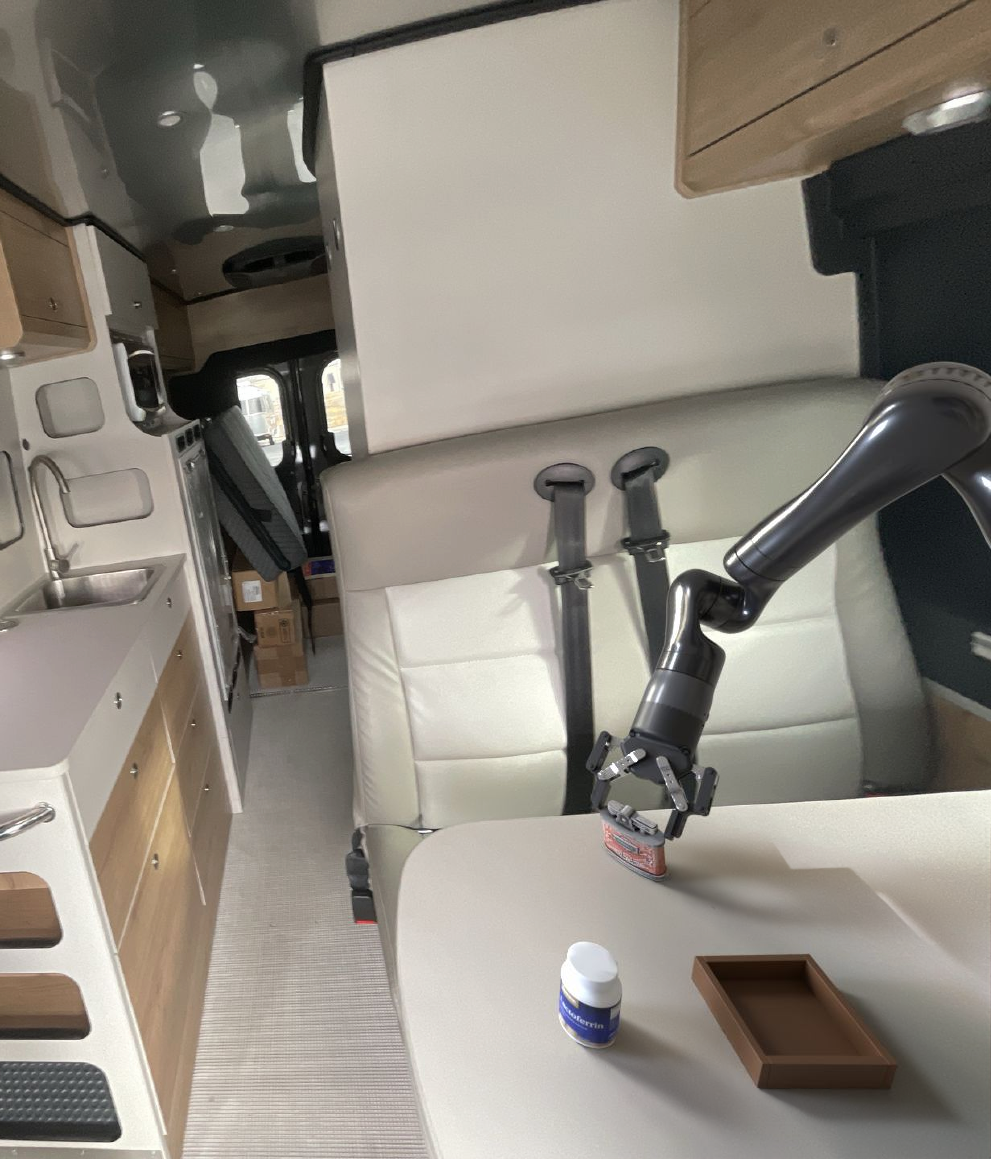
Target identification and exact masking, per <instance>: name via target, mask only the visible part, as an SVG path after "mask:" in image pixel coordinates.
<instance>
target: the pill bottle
mask: <svg viewBox="0 0 991 1159" xmlns="http://www.w3.org/2000/svg"><path fill="white" fill-rule="evenodd" d="M620 979H621V978H620V977H619V965H618V962H617V960H616V958H615V957H614V955H613V954H612V953H611V952H610V951H609V950H608V949H606V948H605V947H604V946H601V945H600V944H597V943H594V942H591V941H579V942H575V943H574V944H572V945H571V946H570V947H569V948H568V952H567V955H566V960H565V962H564V963H563V964H562V966H561V970H560V982H559V983H560V984H559V996H558V997H559V999H558V1002H559V1003H558V1018H559V1023H560V1024H561V1026H562V1028H563V1030H564V1031H565V1033H566V1034H567V1035H568V1036H569V1037H570V1038H571V1039H572V1040H573V1041H575V1042H576V1043H578V1044H580V1045H582V1046H585V1047H587V1048H589V1049H595V1050H597V1049H604V1048H608V1047H610V1046H611V1045H613V1044H614V1042H615V1041H616V1039H617V1037H618V1033H619V1024H620V1017H621V1007H622V998H623V986H622V982H621V980H620Z"/></svg>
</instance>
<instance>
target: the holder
mask: <svg viewBox="0 0 991 1159" xmlns="http://www.w3.org/2000/svg"><path fill="white" fill-rule="evenodd" d="M690 977H691V978H690V979H691V980H692V982H693V983H694V985H695V987H696V988H697V990H698V992H699V994H700V995H701V997H702V998H703V1000H704V1002H705V1004H706V1005H707V1007H708V1008H709V1010H710V1012H711V1013H712V1015H713V1017H714V1019H715V1020H716V1022H717V1023H718V1025H719V1027H720V1029H721V1030H722V1032H723V1034H724V1035H725V1037H726V1038H727V1040H728V1042H729V1043H730V1045H731V1047H732V1048H733V1050H734V1052H735V1053H736V1055H737V1057H738V1059H739V1060H740V1062H741V1063H742V1065H743V1067H744V1068H745V1070H746V1072H747V1073H748V1075H749V1077H750V1078H751V1080H752V1082H753V1083H754V1085H755V1087H756V1089H757V1088H758V1089H841V1090H842V1089H843V1090H844V1089H845V1090H846V1089H849V1090H850V1089H852V1090H853V1089H854V1090H855V1089H857V1090H858V1089H859V1090H863V1089H864V1090H891V1087H892V1085H893V1082H894V1079H895V1076H896V1073H897V1070H898V1068H899V1063H898V1062H897V1061H896V1059H895V1058H894V1057H893V1056H892V1055H891V1053H890V1052H889V1050H887V1049H886V1047H885V1046H884V1045H883V1044H882V1042H881V1041H880V1040H879V1039H878V1037H877V1036H876V1035H875V1033H874V1032H873V1031H872V1030H871V1028H870V1027H869V1025H867V1024H866V1023H865V1021H864V1020H863V1018H862V1017H861V1016H860V1014H858V1012H857V1011H856V1010H855V1009H854V1008H853V1006H852V1005H851V1004H850V1003H849V1001H848V1000H847V998H845V996H844V995H843V994H842V992H841V991H840V990H839V989H838V988H837V986H836V985H835V984H834V983H833V982H832V979H831V978H829V976H828V975H827V974H826V973H825V971H824V970H823V969H822V968H821V966H820V965H819V964H818V962H816V960H815V959H814V958H813V957H812V955H811V954H810V953H786V954H785V953H783V954H779V953H777V954H730V955H729V954H728V955H726V954H724V955H723V954H721V955H694V959H693V965H692V972H691V976H690Z"/></svg>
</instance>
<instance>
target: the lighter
mask: <svg viewBox="0 0 991 1159" xmlns="http://www.w3.org/2000/svg"><path fill="white" fill-rule="evenodd" d="M599 817H600V820H601V822H602V827H603V828H602V829H603V836H604V840H603V847H604V850H605V851H606V852H607V853H608V854H609V855H610V856H611V857H612V858H614V859H615V860H616V861H617V862H619V863H621V864H622V865H624V866H625V867H626V868H628V869H630V870H632V871H633V872H635V873H637V874H639V875H641V876H643V877H646V878H648V879H649V880H652V881H656V882H660V881H664V880H665V879H667V877H668V875H669V874H668V873H669V872H668V866H667V864H666V855H665V853H666V852H665V844H666V838H664V837H663V835H664V832H663V831H662V830H661V829H659V824H658V823H656V821H653V820H651V819H649V818H647V817H645V816H644V815H642V814H640V813H639V812H638V811H637V810H636V809H635V808H634V807H633V806H631V805H628V804H626V805H623V804H621V803H619V802H618V801H615V800H610V801H608V802H607V804H606V805H604V807H602V808H601V810H599Z"/></svg>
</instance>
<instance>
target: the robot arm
mask: <svg viewBox="0 0 991 1159" xmlns="http://www.w3.org/2000/svg"><path fill="white" fill-rule="evenodd" d="M854 435H855V436H853V438H852V439H851V440H850V442H849V443H848V444H847V445H846V447H845V448H844V450H843V451H842V452H841V453H840V455H839V456H838V457H837V458H836V460H834V462H833V463H832V464H831V465H830V466H829V468H827V469H826V470H825V471H824V472H823V473H822V474H821V475H820V476H819V477H818V478H817V479H816V480H814V482H812V483H811V484H810V485H809V486H808V487H806V488H805V489H803V490H802V491H801V492H799V493H798V494H797V495H795V496H793V497H791V499H788V500H787V501H786V502H784V503H783V504H781V505H779V506H777V507H776V508H775V509H773V510H772V511H771V512H769V513H768V514H767V515H766V516H764V517H763V518H762V519H761V520H760V521H759V522H757V523H756V524H755V525H754V526H753V527H751V529H749V531H747V532H746V533H745V534H744V535H743V536H742V537H740V539H739V540H737V541H736V542H735V543H734V544H733V545H732V546H731V547H730V548H729V549H728V550H727V551H726V552H725V554H724V555H723V559H722V566H723V569H724V570H725V572H726V574H728V576H729V577H730V578H731V579H729V578H726V577H724V576H721V575H719V574H716V573H713V572H711V571H708V570H705V569H702V568H690V569H686V570H685V571H683V572H681V573H680V574H678V575H677V576H676V577H675V578H674V580H673V581H672V582H671V583H670V586H669V588H668V592H667V596H666V605H665V607H666V610H665V611H666V613H665V614H666V615H665V616H666V618H665V633H664V634H665V635H664V643H663V647H662V650H661V653H660V656H659V658H658V661H657V664H656V666H655V669H654V672H653V673H652V675H651V676H650V679H649V681H648V682H647V685H646V687H645V690H644V692H643V695H642V697H641V700H640V703H639V705H638V708H637V711H636V713H635V715H634V719H633V722H632V724H631V727H630V730H629V732H628V734H627V735H626V737H625V738H623V739H622V738H620V737H617V736H614V735H612V734H610V732H609V731H606V730H602V731H601V732H600V733H599V735H598V737H597V739H596V741H595V743H594V746H593V748H592V751H591V752H590V754H589V757H588V759H587V761H586V763H585V768H586V769H587V770H588V771H589V772H591V773H592V774H593V775H594V776H595V777H596V781H595V784H594V786H593V790H592V791H591V794H590V802H591V803H592V807H593V808H595V809H597V810H599V811H600V810H601V808H602V807H604V806H606V805H605V804H606V802H607V799H608V796H609V794H610V791H611V788H612V785H611V783H613V782H615V781H617V780H619V779H621V778H625V777H626V776H629V775H631V774H632V775H633V776H634V777H636V778H638V779H641V780H643V781H650V782H651V783H653V784H654V785H656V786H659V787H667V789H668V791H669V793H670V795H671V797H672V800H673V802H674V805H675V809H674V808H672V810H671V813H670V815H669V818H668V821H667V824H666V826H665V829H664V832H663V833H664V835H663V837H664V838H665V840H668V841H671V842H673V841H674V839H675V838H676V839H680V838H681V837H682V836H683V832H684V829H685V826H686V824H687V821H688V818H689V817H690V816H700V817H705V818H706V817H708V816H710V814H711V809H712V806H713V803H714V799H715V795H716V791H717V788H718V784H719V780H720V774H719V772H718V771H717V770H716V769H715V768H714V767H712V766H706V767H705V766H701V765H698V764H695V763H694V756H695V753H696V750H697V748H698V745H699V742H700V739H701V736H702V734H703V732H704V729H705V725H706V723H707V722H708V720H709V718H710V711H711V709H712V706H713V701H714V695H715V691H716V689H717V686H718V683H719V680H720V678H721V674H722V672H723V669H724V665H725V663H726V659H727V656H726V655H727V654H726V651H725V650H724V648H722V646H720V645H719V644H718V643H717V642H715V641H713V640H712V639H710V638H709V637H708V636H707V635H706V634H705V633H704V632H703V630H702V627H701V625H702V626H705V627H706V628H710V629H712V630H714V631H717V632H720V633H723V634H727V635H735V634H739V633H742V632H745V631H747V630H749V629H751V628H752V627H753V626H754V625H755V624H756V623H757V622H758V620H759V619H760V617H761V615H762V614H763V611H764V610H765V608H766V607H767V605H768V604H769V603H770V601H771V599H772V598H773V597H774V596H775V594H776V593H777V592H778V591H779V589H780V588H781V586H782V585H783V584H784V583H785V582H787V581H788V580H789V579H791V578H792V577H793V576H795V575H796V574H797V573H799V571H801V570H802V569H803V568H805V567H806V566H807V565H809V564H810V563H811V562H812V561H814V560H815V559H816V558H817V557H818V556H820V555H821V554H822V553H823V552H824V551H826V550H827V549H828V548H830V547H831V546H832V545H833V544H835V543H836V542H837V541H838V540H840V539H841V538H842V537H843V536H845V535H846V534H847V533H848V532H850V531H851V530H853V529H854V528H855V527H857V526H858V525H860V524H861V523H862V522H864V521H865V520H867V519H869V517H871V516H872V515H874V514H876V513H877V512H879V511H880V510H882V509H883V508H885V507H886V506H888V505H890V504H891V503H893V502H895V501H897V500H898V499H899V498H902V497H903V496H905V495H907V494H908V493H911V492H912V491H914V490H916V489H917V488H919V487H921V486H923V485H925V484H927V483H928V482H930V481H933V480H934V479H936V478H937V477H939V476H942V477H943V478H944V479H945V480H946V481H947V482H949V484H951V486H952V487H953V488H954V489H955V490H956V491H957V492H958V494H959V495H960V496H961V497H962V499H963V501H964V502H965V503H966V505H967V506H968V508H969V510H970V512H971V514H972V516H973V518H974V520H975V521H976V523H977V525H978V527H979V529H980V532H981V533H982V535H983V537H984V539H985V541H986V543H987V545H988V547H989V548H990V549H991V376H990V375H989V373H986V372H984V371H983V370H981V369H979V368H977V367H975V366H971V365H968V364H965V363H960V362H954V361H932V362H925V363H921V364H917V365H914V366H911V367H909V368H907V369H905V370H903V371H901V372H899V373H898V374H896V375H895V376H894V377H893V378H892V379H890V380H889V381H888V382H887V383H886V384H885V386H883V388H882V389H881V390H880V392H879V393H878V394H877V395H876V397H875V399H874V400H873V402H872V404H871V406H870V407H869V409H868V411H867V412H866V414H865V416H864V418H863V419H862V424H861V427H860V428H859V430H858V431H857V433H856V434H854ZM617 748H620V750H621V753H622V756H623V757H622V758H619V759H618V760H616V761H614V762H612V763H611V765H609V766H608V767H606V768H604V769H603V766H604V764H605V762H606V760H607V757H608V755H609V753H610V752H614V751H616V749H617ZM693 773H694V774H695V780H696V782H698V783H699V784H700V785H699V788H698V791H697V795H696V799H695V802H689V800H688V797H687V796H686V793H685V790H684V787H683V786H682V783H681V781H680V780H682V779H684V778H685V777H687V776H689V775H691V774H693Z"/></svg>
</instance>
